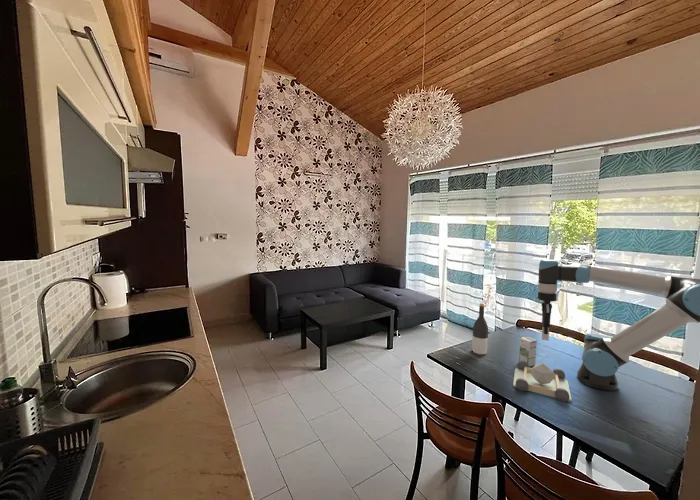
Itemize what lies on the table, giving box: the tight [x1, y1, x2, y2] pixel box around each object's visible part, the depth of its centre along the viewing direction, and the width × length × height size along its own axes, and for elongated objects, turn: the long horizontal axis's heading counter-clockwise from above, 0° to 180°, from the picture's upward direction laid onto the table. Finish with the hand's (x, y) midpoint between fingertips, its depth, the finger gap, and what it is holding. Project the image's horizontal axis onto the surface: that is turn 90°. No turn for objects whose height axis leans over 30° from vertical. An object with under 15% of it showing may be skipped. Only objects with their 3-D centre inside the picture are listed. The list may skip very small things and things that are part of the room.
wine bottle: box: [471, 302, 489, 356], centre depth 172 cm, size 8×8×30 cm
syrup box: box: [518, 336, 538, 367], centre depth 161 cm, size 6×6×14 cm
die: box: [531, 363, 554, 384], centre depth 139 cm, size 8×9×10 cm
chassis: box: [512, 361, 573, 403], centre depth 141 cm, size 22×23×5 cm
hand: (545, 339), depth 145 cm, fingers closed
